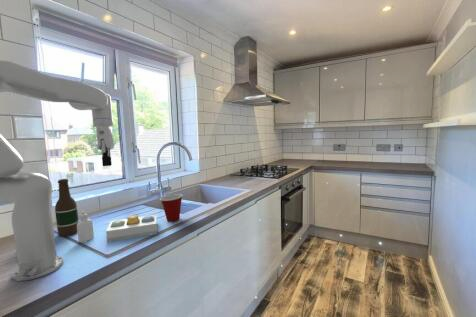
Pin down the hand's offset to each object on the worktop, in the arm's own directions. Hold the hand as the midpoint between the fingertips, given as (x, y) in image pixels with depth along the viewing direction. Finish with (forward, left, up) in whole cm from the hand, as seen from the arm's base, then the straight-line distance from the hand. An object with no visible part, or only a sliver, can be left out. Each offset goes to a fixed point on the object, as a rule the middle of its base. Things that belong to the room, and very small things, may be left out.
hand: (107, 165), depth 104 cm
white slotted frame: (-7, -9, -29) cm, 31 cm away
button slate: (-7, -15, -27) cm, 32 cm away
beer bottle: (+4, +18, -29) cm, 35 cm away
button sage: (-7, -3, -27) cm, 28 cm away
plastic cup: (+1, -26, -29) cm, 39 cm away
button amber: (-7, -9, -26) cm, 28 cm away
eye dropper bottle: (-7, +9, -29) cm, 31 cm away
